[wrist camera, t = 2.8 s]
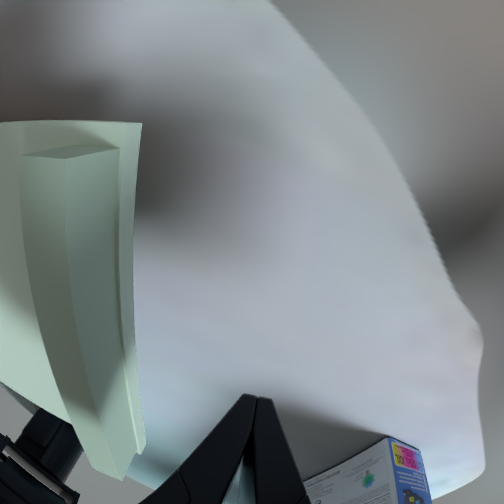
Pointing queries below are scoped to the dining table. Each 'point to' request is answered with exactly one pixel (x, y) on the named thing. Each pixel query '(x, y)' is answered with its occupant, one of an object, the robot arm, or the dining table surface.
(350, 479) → the ink cartridge box
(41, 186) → the lid
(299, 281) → the dining table surface
